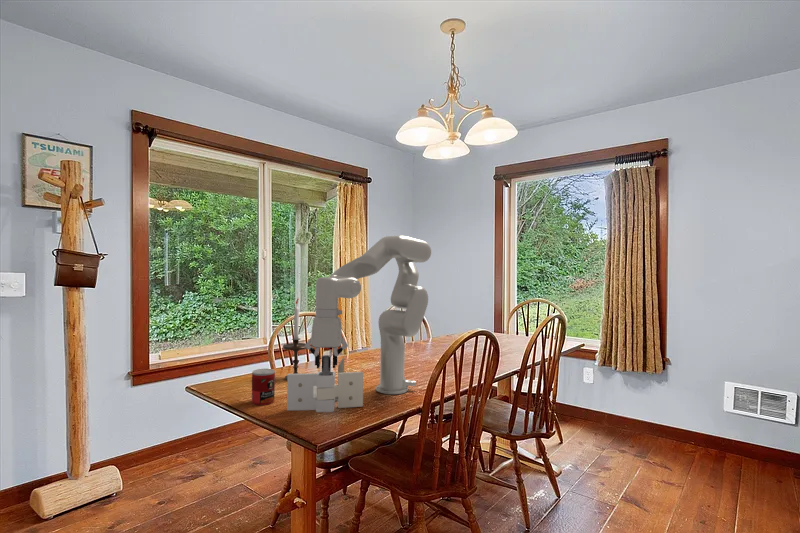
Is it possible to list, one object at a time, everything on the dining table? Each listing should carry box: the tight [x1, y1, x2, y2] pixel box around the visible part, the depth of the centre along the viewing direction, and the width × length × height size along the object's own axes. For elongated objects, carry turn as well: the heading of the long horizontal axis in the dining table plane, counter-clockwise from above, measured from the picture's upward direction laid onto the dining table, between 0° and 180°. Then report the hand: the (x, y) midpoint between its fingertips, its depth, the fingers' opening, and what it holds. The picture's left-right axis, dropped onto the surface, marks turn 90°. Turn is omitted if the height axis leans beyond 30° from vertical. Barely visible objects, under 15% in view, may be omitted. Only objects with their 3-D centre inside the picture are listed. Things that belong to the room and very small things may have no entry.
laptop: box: [313, 355, 345, 402], centre depth 162 cm, size 18×12×13 cm
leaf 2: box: [317, 371, 364, 409], centre depth 145 cm, size 16×6×12 cm, turn 104°
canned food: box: [251, 368, 276, 406], centre depth 151 cm, size 8×8×11 cm
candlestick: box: [282, 298, 308, 382], centre depth 182 cm, size 11×11×35 cm
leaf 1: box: [286, 371, 336, 413], centre depth 143 cm, size 16×6×12 cm, turn 96°
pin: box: [321, 354, 332, 400], centre depth 144 cm, size 3×3×18 cm
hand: (326, 366), depth 144 cm, fingers open, 4 cm apart
